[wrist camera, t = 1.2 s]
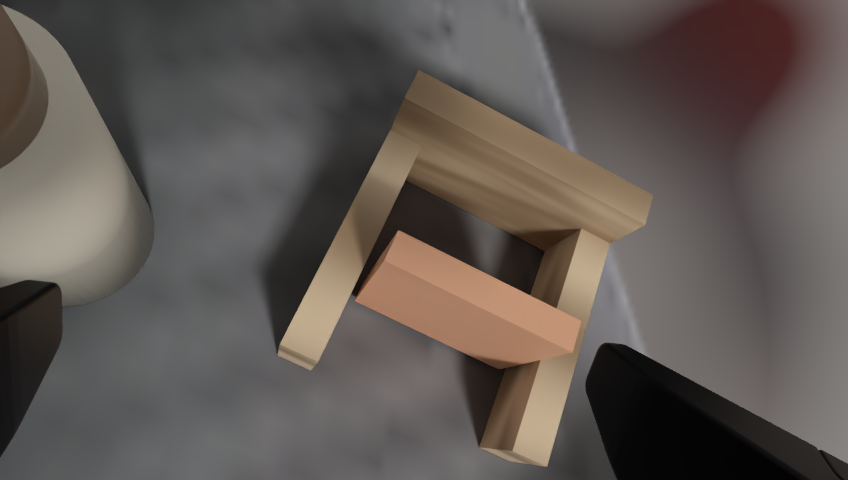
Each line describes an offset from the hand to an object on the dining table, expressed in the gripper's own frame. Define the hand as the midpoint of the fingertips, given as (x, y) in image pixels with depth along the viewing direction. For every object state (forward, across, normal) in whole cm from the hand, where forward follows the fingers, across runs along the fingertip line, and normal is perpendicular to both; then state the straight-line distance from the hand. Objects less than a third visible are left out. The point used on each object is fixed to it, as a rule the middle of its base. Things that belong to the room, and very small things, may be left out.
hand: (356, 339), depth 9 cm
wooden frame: (+14, -6, +6) cm, 16 cm away
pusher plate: (+13, -5, +7) cm, 16 cm away
